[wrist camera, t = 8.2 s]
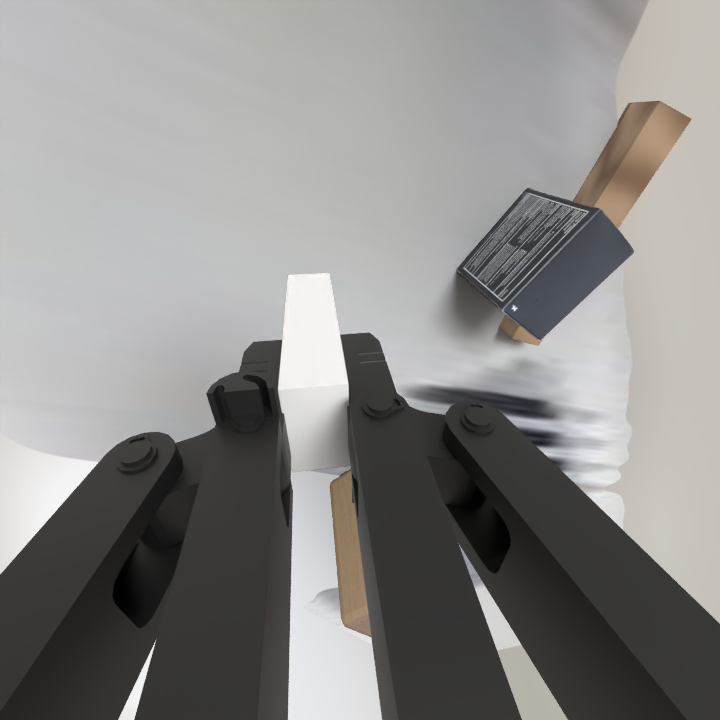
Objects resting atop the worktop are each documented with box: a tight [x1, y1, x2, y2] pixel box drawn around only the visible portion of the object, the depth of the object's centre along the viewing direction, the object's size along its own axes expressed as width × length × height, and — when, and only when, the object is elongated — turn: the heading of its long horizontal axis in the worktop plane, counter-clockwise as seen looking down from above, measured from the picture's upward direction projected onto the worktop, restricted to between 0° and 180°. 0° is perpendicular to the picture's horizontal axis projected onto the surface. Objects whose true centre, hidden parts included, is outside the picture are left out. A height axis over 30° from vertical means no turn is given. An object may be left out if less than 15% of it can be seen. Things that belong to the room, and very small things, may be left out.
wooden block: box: [330, 470, 371, 637], centre depth 50 cm, size 10×10×20 cm
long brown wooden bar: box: [499, 101, 691, 346], centre depth 38 cm, size 24×4×4 cm, turn 162°
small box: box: [457, 188, 634, 341], centre depth 34 cm, size 11×6×10 cm, turn 143°
